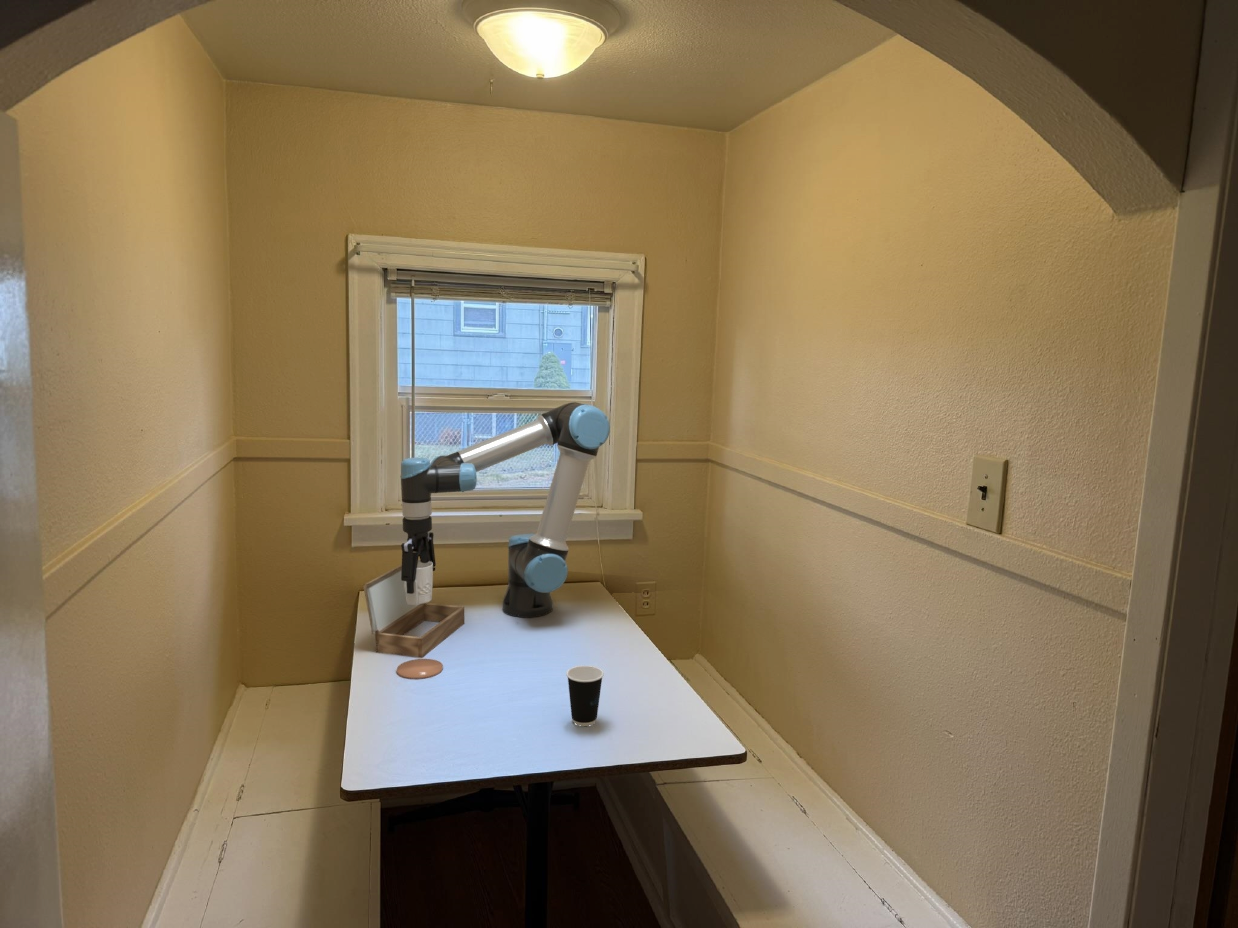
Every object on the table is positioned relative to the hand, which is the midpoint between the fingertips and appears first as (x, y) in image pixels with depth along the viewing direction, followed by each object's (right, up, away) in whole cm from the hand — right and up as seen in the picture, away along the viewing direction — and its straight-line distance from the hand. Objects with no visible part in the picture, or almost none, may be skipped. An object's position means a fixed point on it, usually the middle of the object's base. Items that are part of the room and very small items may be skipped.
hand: (419, 599), depth 213 cm
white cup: (0, -1, 0) cm, 1 cm away
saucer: (+5, -14, -19) cm, 24 cm away
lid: (-7, +1, +2) cm, 8 cm away
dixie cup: (+46, -19, -44) cm, 66 cm away
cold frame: (0, -11, +2) cm, 11 cm away
